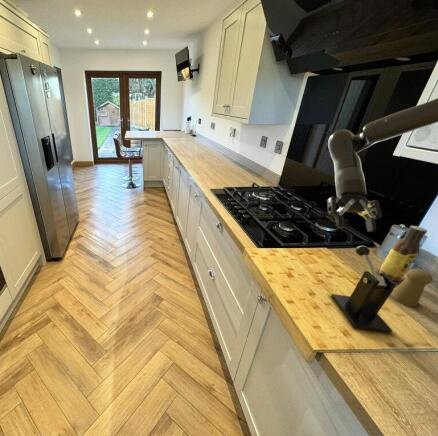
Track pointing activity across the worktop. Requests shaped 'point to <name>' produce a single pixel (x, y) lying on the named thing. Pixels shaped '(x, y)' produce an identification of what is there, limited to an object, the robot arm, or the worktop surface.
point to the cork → (412, 287)
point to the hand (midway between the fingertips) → (356, 229)
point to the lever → (370, 265)
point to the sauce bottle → (403, 254)
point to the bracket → (366, 303)
